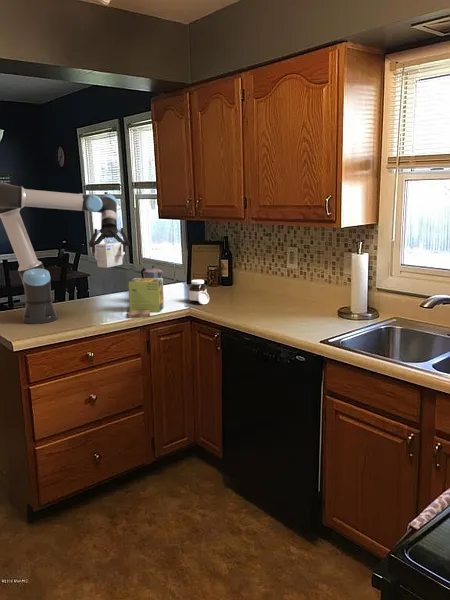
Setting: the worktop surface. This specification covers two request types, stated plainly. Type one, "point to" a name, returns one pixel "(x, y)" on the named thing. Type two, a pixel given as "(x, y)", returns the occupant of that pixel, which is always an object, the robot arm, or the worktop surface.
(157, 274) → the moka pot
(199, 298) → the spread jar
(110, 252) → the light bulb box
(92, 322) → the worktop surface
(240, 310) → the worktop surface
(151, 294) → the protein box
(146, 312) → the walnut coaster board
